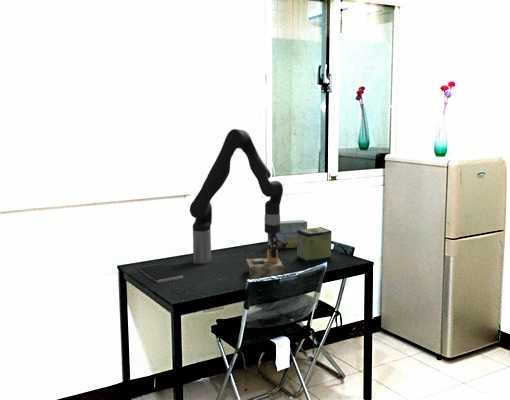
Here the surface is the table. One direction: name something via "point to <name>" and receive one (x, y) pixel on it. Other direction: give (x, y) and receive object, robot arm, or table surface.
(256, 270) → the shelf
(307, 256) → the protein box
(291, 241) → the snack box
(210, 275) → the table surface
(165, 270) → the smartphone
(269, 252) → the keyhole peg
